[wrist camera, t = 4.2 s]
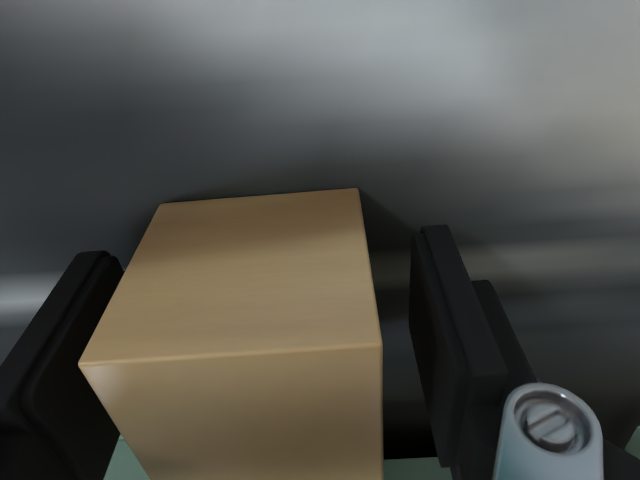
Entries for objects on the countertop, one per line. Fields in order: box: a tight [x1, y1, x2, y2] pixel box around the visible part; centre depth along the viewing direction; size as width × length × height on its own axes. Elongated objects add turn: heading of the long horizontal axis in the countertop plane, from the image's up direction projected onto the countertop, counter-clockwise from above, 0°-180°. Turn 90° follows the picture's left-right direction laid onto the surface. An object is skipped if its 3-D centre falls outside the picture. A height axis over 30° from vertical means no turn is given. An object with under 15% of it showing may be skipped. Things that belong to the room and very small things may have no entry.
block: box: [78, 188, 383, 480], centre depth 9 cm, size 4×4×4 cm
